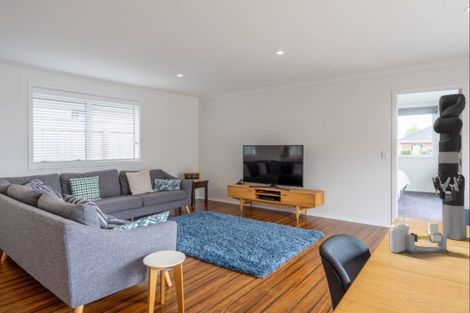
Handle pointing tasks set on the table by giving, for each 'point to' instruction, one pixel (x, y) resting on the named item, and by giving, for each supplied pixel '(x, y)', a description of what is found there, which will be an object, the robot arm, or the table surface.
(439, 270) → the table surface
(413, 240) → the slider rail
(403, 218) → the smoothie
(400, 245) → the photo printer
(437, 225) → the white stepped block
